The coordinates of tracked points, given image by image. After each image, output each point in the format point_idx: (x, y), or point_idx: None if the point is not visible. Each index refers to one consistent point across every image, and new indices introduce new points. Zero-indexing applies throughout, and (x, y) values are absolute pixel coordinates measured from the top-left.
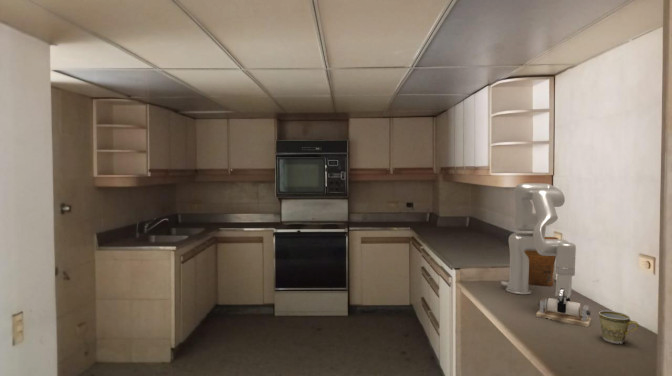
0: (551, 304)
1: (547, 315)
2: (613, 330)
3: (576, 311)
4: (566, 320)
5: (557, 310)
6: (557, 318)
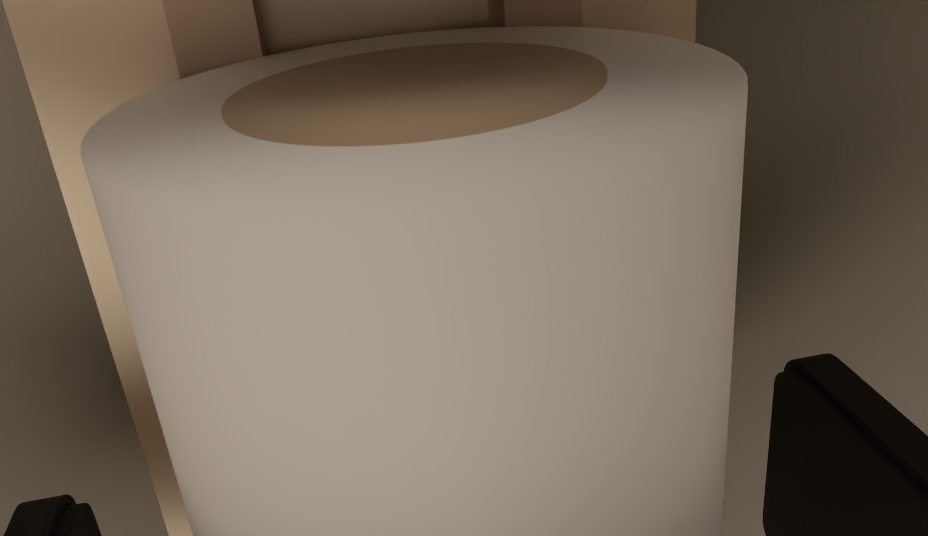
0: (140, 343)
1: (37, 113)
2: None
3: None
4: (175, 528)
5: (12, 529)
6: (122, 359)
